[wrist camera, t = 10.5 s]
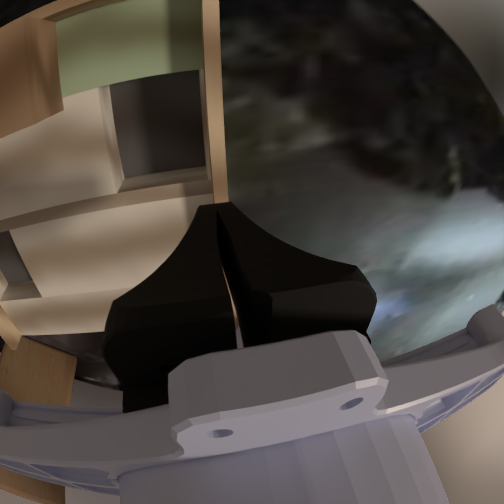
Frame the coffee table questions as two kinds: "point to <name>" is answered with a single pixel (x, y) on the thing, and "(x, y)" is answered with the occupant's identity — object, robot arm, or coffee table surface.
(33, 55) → the walnut cube
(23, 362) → the wooden block
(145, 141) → the divided wooden-rimmed tray
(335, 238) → the coffee table surface
